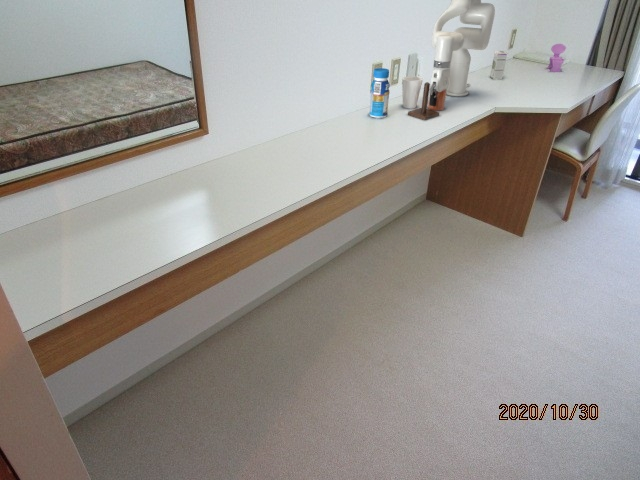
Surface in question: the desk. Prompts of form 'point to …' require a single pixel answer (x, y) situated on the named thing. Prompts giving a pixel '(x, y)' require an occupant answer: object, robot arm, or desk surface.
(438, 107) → the cup
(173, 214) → the desk surface
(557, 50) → the pink figurine
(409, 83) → the foam cup
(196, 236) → the desk surface
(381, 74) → the beverage bottle
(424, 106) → the holder
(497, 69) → the syrup box
